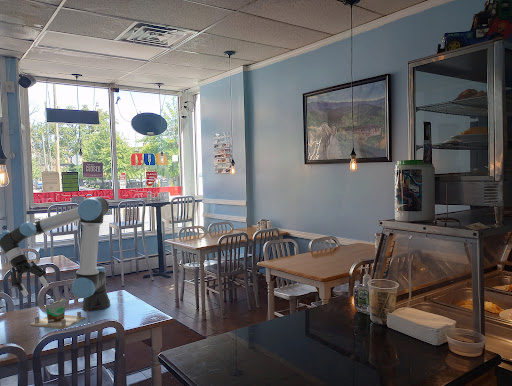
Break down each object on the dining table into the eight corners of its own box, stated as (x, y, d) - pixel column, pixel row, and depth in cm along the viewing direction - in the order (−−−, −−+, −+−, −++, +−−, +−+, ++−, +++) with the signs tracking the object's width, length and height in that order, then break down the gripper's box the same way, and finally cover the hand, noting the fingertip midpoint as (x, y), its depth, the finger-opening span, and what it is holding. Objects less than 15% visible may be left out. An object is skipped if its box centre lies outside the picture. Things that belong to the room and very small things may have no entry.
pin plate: (53, 315, 221) (53, 308, 221) (85, 318, 215) (84, 311, 214) (31, 325, 207) (30, 317, 206) (64, 329, 200) (63, 321, 200)
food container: (56, 324, 204) (55, 305, 204) (45, 323, 206) (44, 304, 205) (72, 315, 216) (71, 297, 216) (61, 315, 218) (60, 297, 217)
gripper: (31, 255, 229) (50, 286, 227) (-9, 267, 205) (12, 302, 203) (39, 248, 226) (59, 280, 225) (0, 260, 203) (21, 295, 201)
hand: (37, 291), depth 214 cm, fingers open, 13 cm apart
